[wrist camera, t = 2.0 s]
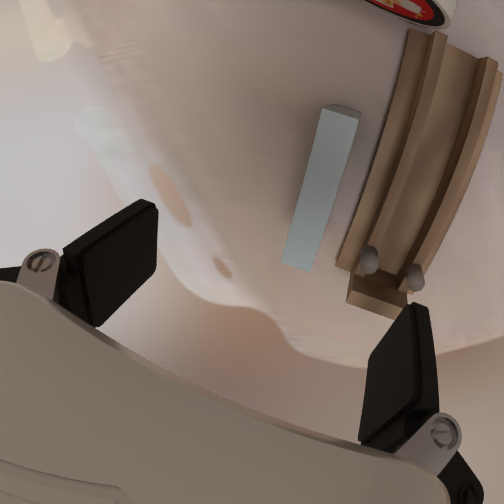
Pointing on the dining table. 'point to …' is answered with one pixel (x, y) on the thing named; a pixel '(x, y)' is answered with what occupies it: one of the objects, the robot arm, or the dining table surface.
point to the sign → (419, 11)
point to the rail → (418, 170)
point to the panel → (320, 184)
